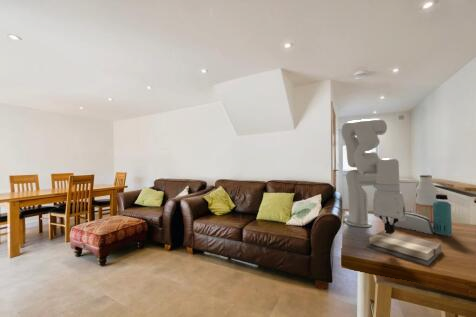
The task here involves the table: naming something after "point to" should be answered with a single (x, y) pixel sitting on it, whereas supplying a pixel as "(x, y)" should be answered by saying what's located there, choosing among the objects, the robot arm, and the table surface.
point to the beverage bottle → (442, 216)
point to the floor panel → (426, 262)
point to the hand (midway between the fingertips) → (389, 233)
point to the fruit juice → (426, 197)
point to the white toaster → (416, 223)
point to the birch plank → (402, 246)
